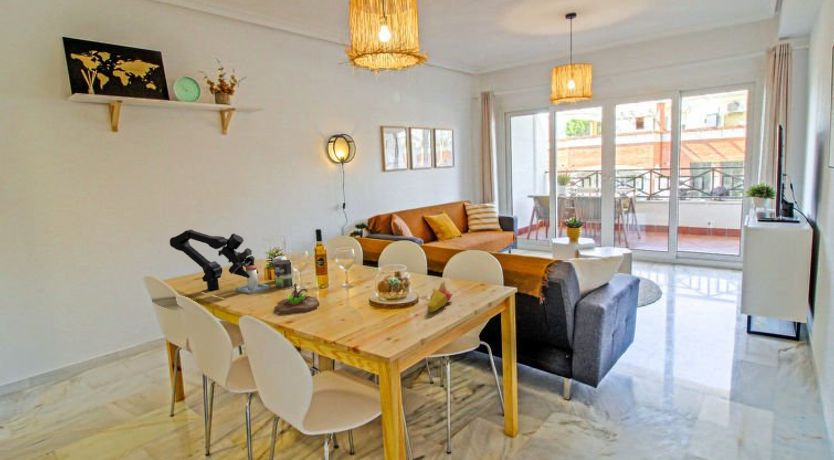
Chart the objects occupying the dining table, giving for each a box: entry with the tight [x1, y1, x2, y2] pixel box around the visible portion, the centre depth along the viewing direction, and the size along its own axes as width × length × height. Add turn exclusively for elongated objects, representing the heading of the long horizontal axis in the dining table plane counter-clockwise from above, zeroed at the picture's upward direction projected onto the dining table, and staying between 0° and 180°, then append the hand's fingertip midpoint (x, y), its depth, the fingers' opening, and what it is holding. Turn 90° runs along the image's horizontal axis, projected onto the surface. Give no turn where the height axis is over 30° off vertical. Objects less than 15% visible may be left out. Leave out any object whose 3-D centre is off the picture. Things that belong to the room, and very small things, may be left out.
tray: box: [235, 282, 272, 295], centre depth 248 cm, size 14×12×2 cm
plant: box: [274, 282, 320, 315], centre depth 216 cm, size 20×20×11 cm
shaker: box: [245, 264, 259, 291], centre depth 247 cm, size 5×5×12 cm
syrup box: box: [272, 255, 288, 268], centre depth 262 cm, size 6×6×14 cm
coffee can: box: [272, 259, 295, 291], centre depth 251 cm, size 10×10×14 cm
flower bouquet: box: [427, 279, 454, 313], centre depth 206 cm, size 8×8×25 cm
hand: (253, 275), depth 246 cm, fingers open, 9 cm apart
